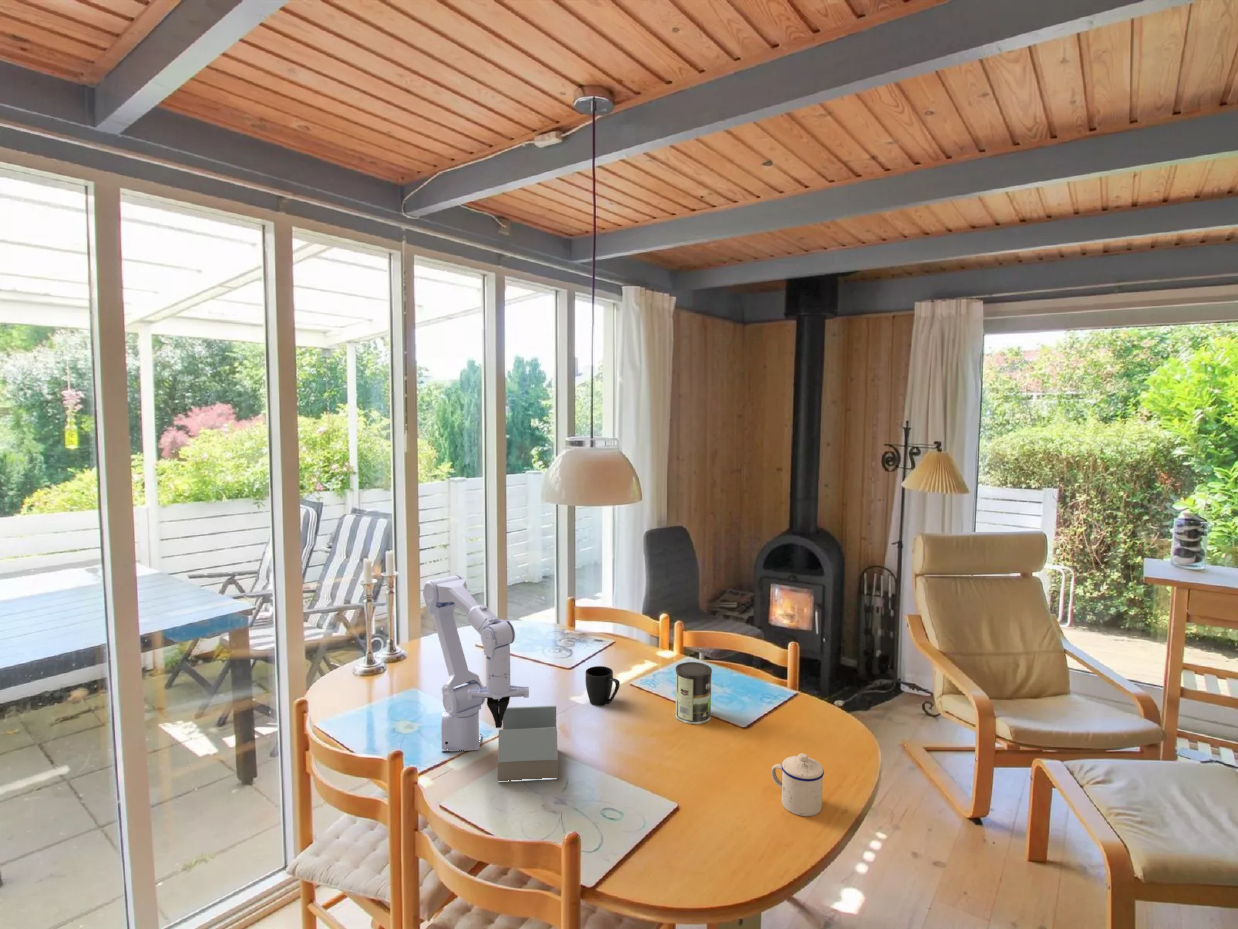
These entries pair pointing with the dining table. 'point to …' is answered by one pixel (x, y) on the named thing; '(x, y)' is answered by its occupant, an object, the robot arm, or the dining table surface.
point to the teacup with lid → (800, 784)
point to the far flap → (529, 717)
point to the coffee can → (693, 692)
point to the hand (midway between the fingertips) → (498, 725)
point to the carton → (527, 769)
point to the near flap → (527, 744)
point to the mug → (600, 685)
